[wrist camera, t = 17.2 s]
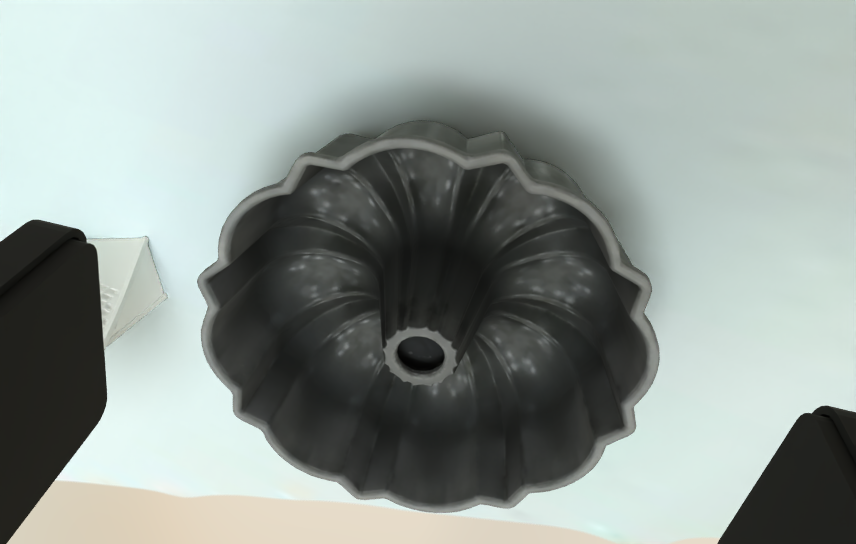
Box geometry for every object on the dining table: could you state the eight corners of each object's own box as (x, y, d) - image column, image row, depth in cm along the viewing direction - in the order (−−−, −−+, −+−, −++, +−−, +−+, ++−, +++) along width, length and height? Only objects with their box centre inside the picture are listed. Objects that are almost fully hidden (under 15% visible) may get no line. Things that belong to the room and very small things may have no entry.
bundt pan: (620, 424, 54) (636, 532, 45) (286, 407, 57) (242, 505, 49) (659, 76, 40) (692, 137, 32) (220, 83, 44) (145, 140, 35)
